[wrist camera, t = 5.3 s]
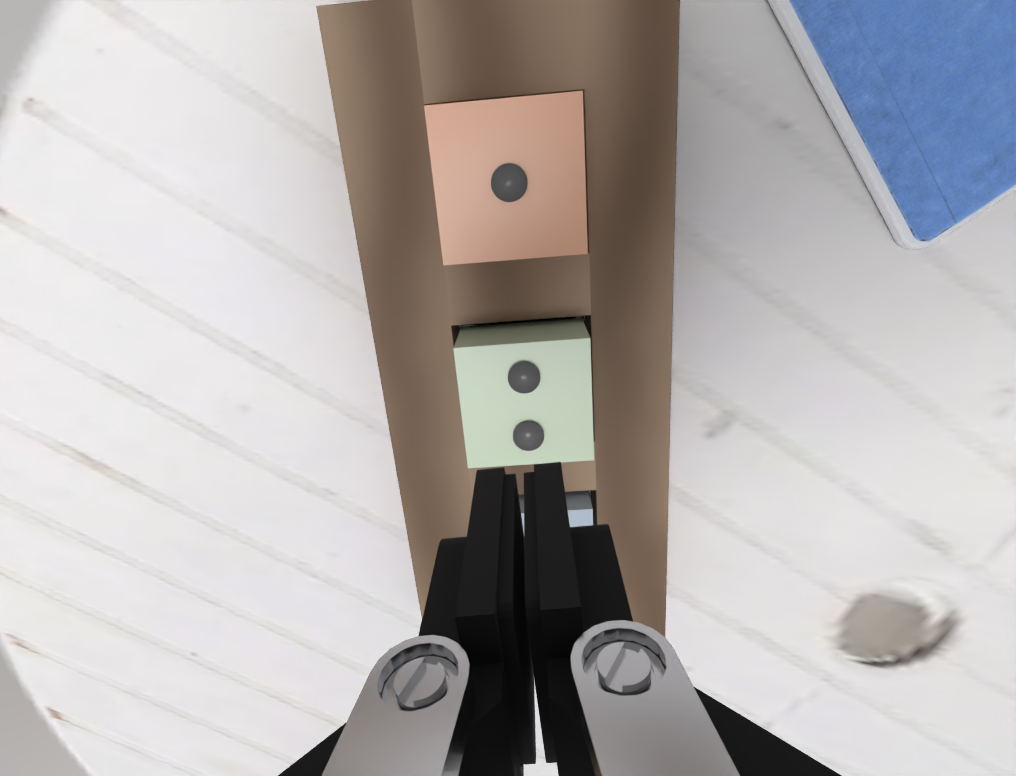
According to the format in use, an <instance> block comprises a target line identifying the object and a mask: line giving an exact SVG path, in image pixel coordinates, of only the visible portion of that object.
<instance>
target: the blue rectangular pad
mask: <svg viewBox="0 0 1016 776" xmlns="http://www.w3.org/2000/svg"><path fill="white" fill-rule="evenodd" d="M767 1H768V3H769V4H770V6H771V8H772V10H773V12H774V14H775V16H776V17H777V19H778V21H779V23H780V25H781V27H782V29H783V30H784V32H785V34H786V36H787V38H788V40H789V41H790V43H791V45H792V47H793V49H794V51H795V53H796V55H797V57H798V58H799V60H800V62H801V64H802V66H803V68H804V70H805V72H806V74H807V76H808V78H809V79H810V81H811V83H812V85H813V87H814V89H815V91H816V93H817V95H818V96H819V98H820V100H821V102H822V104H823V106H824V108H825V109H826V111H827V113H828V115H829V117H830V119H831V120H832V122H833V124H834V126H835V128H836V129H837V131H838V133H839V135H840V137H841V139H842V141H843V143H844V144H845V146H846V148H847V150H848V152H849V154H850V156H851V158H852V159H853V161H854V163H855V165H856V167H857V169H858V171H859V173H860V175H861V176H862V178H863V180H864V182H865V184H866V186H867V188H868V190H869V192H870V193H871V195H872V197H873V199H874V201H875V203H876V205H877V207H878V208H879V210H880V212H881V214H882V216H883V218H884V220H885V222H886V224H887V226H888V228H889V230H890V232H891V234H892V236H893V238H894V240H895V242H896V243H897V244H898V245H899V246H901V247H902V248H904V249H907V250H914V249H922V248H926V247H929V246H931V245H933V244H935V243H936V242H938V241H939V240H941V239H942V238H944V237H945V236H947V235H949V234H950V233H951V232H953V231H954V230H956V229H957V228H959V227H961V226H962V225H963V224H965V223H967V222H968V221H970V220H971V219H973V218H974V217H976V216H977V215H979V214H980V213H982V212H983V211H984V210H986V209H988V208H989V207H991V206H992V205H994V204H995V203H997V202H998V201H1000V200H1001V199H1003V198H1005V197H1006V196H1007V195H1009V194H1011V193H1012V192H1014V191H1015V190H1016V0H767Z"/></svg>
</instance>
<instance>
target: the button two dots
mask: <svg viewBox="0 0 1016 776" xmlns="http://www.w3.org/2000/svg"><path fill="white" fill-rule="evenodd" d="M453 349H454V357H455V366H456V374H457V382H458V390H459V399H460V407H461V415H462V423H463V432H464V440H465V448H466V456H467V465H468V468H482V467H497V466H513V465H529V464H543V463H553V462H576V461H592V460H594V440H593V407H592V374H591V342H590V336H589V334H588V331H587V329H586V327H585V325H584V322H583V320H582V318H576V319H563V320H550V321H536V322H523V323H510V324H497V325H483V326H470V327H461V329H460V332H459V334H458V337H457V340H456V342H455V345H454V348H453Z"/></svg>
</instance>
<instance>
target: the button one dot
mask: <svg viewBox="0 0 1016 776" xmlns="http://www.w3.org/2000/svg"><path fill="white" fill-rule="evenodd" d="M424 110H425V118H426V126H427V134H428V143H429V151H430V159H431V167H432V176H433V184H434V192H435V200H436V209H437V217H438V225H439V233H440V242H441V250H442V258H443V265H455V264H467V263H480V262H492V261H505V260H517V259H529V258H542V257H554V256H567V255H579V254H588V243H587V211H586V178H585V145H584V112H583V91H574V92H564V93H553V94H542V95H532V96H521V97H510V98H500V99H489V100H478V101H468V102H457V103H446V104H436V105H425V106H424Z"/></svg>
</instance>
